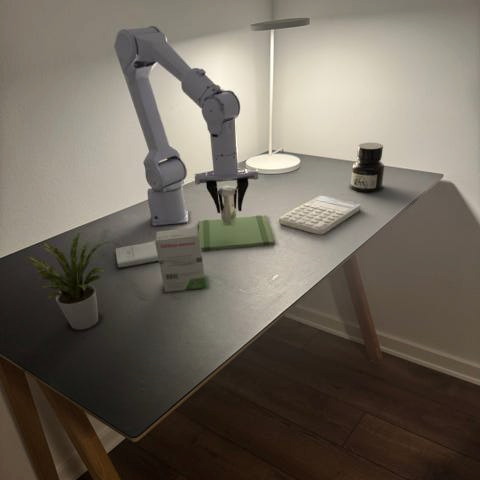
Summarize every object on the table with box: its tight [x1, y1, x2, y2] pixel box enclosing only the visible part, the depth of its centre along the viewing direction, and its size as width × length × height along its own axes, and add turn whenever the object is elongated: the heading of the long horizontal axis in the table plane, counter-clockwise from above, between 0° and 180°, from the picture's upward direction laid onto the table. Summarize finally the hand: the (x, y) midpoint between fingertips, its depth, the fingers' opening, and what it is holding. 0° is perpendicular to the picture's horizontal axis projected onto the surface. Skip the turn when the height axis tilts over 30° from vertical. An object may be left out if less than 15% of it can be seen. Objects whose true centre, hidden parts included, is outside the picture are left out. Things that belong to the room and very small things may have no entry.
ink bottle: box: [350, 142, 385, 193], centre depth 129 cm, size 10×9×12 cm
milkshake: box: [218, 184, 238, 226], centre depth 107 cm, size 4×5×10 cm
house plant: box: [25, 232, 111, 330], centre depth 81 cm, size 14×14×16 cm
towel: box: [198, 214, 276, 252], centre depth 112 cm, size 18×16×1 cm
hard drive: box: [115, 240, 159, 269], centre depth 105 cm, size 2×8×12 cm
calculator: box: [278, 194, 362, 236], centre depth 117 cm, size 13×20×2 cm, turn 139°
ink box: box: [154, 226, 207, 293], centre depth 90 cm, size 9×5×12 cm, turn 96°
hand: (229, 210), depth 108 cm, fingers closed on milkshake, 4 cm apart
